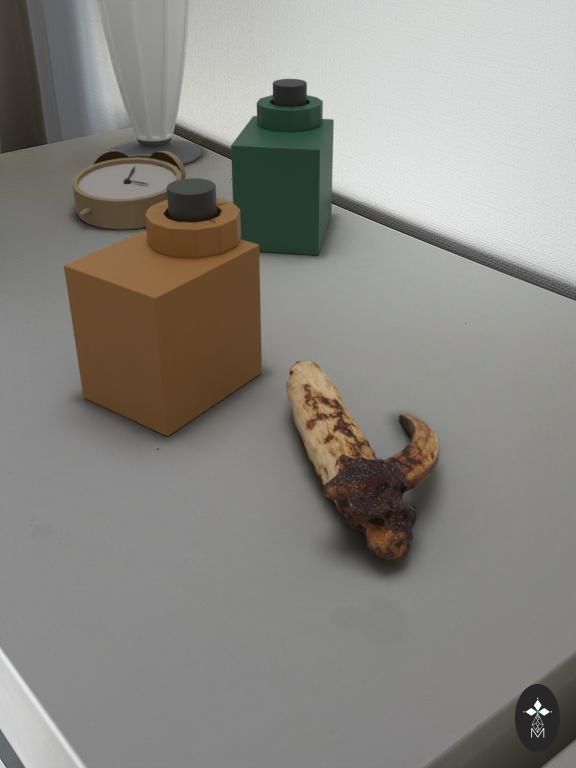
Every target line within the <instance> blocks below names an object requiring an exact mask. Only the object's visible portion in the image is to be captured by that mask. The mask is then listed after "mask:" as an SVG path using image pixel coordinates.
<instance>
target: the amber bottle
mask: <svg viewBox="0 0 576 768" xmlns="http://www.w3.org/2000/svg"><path fill="white" fill-rule="evenodd" d="M216 200H217V217H216V218H214V219H211V220H208V221H202V222H195V223H193V222H177V221H174V220H170V219H169V213H168V200H165V201H162V202H160V203H158V204H155V205H153V206H151V207H150V208H149V210H148V211H147V212H146V214H145V221H146V227H145V230H141V231H140V232H138V233H136V234H133V235H131V236H129V237H127V238H124V239H121V240H120V241H116V242H114V243H112V244H110V245H108V246H105V247H103V248H101V249H98V250H96V251H94V252H92V253H89V254H87V255H84V256H82V257H80V258H78V259H75V260H73V261H71V262H68V263H66V264H64V265H63V270H64V276H65V284H66V290H67V296H68V302H69V310H70V317H71V324H72V330H73V331H72V332H73V337H74V343H75V349H76V357H77V363H78V370H79V377H80V384H81V390H82V397H83V399H86V400H88V401H90V402H93V403H94V404H96V405H98V406H101V407H102V408H105V409H107V410H109V411H112V412H114V413H116V414H118V415H121V416H123V417H124V418H126V419H129V420H131V421H133V422H136V424H140V425H141V426H143V427H146V428H148V429H151V431H155V432H157V433H158V434H160V435H163V436H165V437H169V436H171V435H172V434H174V433H175V432H177V431H178V430H181V428H183V427H184V426H185V425H187V424H189V423H190V422H191V421H193V420H194V419H196V418H197V417H198V416H200V415H202V414H203V413H205V412H206V411H208V410H209V409H211V408H212V407H214V406H215V405H217V404H218V403H219V402H221V401H222V400H224V399H225V398H227V397H229V396H230V395H231V394H233V393H234V392H236V391H237V390H239V389H240V388H241V387H243V386H244V385H246V384H248V383H249V382H250V381H252V380H253V379H255V378H257V377H258V376H260V375H261V374H262V373H263V359H262V357H263V356H262V316H261V315H262V314H261V313H262V311H261V268H260V267H261V263H260V251H259V245H258V244H255V243H252V242H248V241H245V240H241V239H240V238H241V218H240V209H239V208H238V207H237V206H236V205H235V204H234V203H233V201H231V200H228V199H224V198H219V197H216Z"/></svg>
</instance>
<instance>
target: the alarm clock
mask: <svg viewBox="0 0 576 768" xmlns="http://www.w3.org/2000/svg"><path fill="white" fill-rule="evenodd" d="M186 175H187V173H186V168H185V166H184V165H183V163H182V162H181V160H180V159H179V158H178V157H177V156H176V155H175V154H173V153H171V152H168V151H158V152H156V153H153V154H152V155H150V154H138V155H130V156H127V155H126V154H124V153H123V152H120V151H117V150H114V149H109V150H105V151H103V152H101V153H100V154H98V155H96V157H95V159H94V160H93V163H92V164H91V165H89V166H87V167H85V168H83V169H82V170H80V171H78V172H77V173H76V174H75V175H74V176H73V178H72V181H71V187H72V191H73V196H74V202H75V203H74V204H75V212H76V214H77V216H78V217H79V219H80V220H82V221H83V222H85V223H86V224H88V225H91V226H94V227H98V228H102V229H108V230H109V229H110V230H111V229H112V230H136V229H142V228H146V221H145V214H146V212H147V211H148V210H149V208H150V207H151V206H153V205H155V204H158V203H160V202H162V201H165V200H167V185H168V184H169V183H171V182H173V181H176V180H181V179H186Z"/></svg>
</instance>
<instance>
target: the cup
mask: <svg viewBox="0 0 576 768" xmlns="http://www.w3.org/2000/svg"><path fill="white" fill-rule="evenodd" d="M96 2H97V7H98V11H99V16H100V21H101V27H102V30H103V35H104V38H105V42H106V45H107V50H108V54H109V58H110V61H111V65H112V70H113V73H114V77H115V79H116V83H117V87H118V89H119V93H120V97H121V99H122V103H123V106H124V109H125V111H126V114H127V117H128V120H129V123H130V125H131V127H132V130H133V133H134V138H135V140H136V141H133V142H129V143H128V142H127V143H125V144H121V145H119V146H117V147H115V148H114V149H113V150H117V151H120V152H123V153H124V154H126V155H127V156H130V155H138V154H150V155H152V154H153V153H156V152H158V151H168V152H171V153H173V154H175V155H176V156H177V157H178V158H179V159H180V160H181V162H182V163H183V166H184V165H187V164H190V163H193V162H195V161H196V160H198V159H199V158H201V156H202V149H201V148H200V147H198V146H197V145H196V144H193V143H190V142H187V141H183V140H174V139H173V137H174V131H175V127H176V123H177V118H178V113H179V109H180V102H181V96H182V95H181V94H182V88H183V80H184V74H185V63H186V54H187V42H188V33H189V32H188V31H189V16H190V15H189V14H190V13H189V12H190V0H96Z"/></svg>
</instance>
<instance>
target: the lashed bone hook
mask: <svg viewBox="0 0 576 768" xmlns="http://www.w3.org/2000/svg"><path fill="white" fill-rule="evenodd" d="M288 373H289V376H288V378H287V381H286V383H285V390H286V394H287V395H286V397H287V400H288V403H289V406H290V407H291V410H292V412H293V421H294V425H295V427H296V429H297V430H298V432H299V434H300V436H301V438H302V441H303V444H304V447H305V451H306V452H307V455H308V456H307V457H308V459H309V461H310V462H311V463H312V465H313V467H314V469H315V472H316V475H317V476H318V477H319V478H320V480H321V483H322V485H323V492H322V493H323V496H324V497H325V498H327V499H331V500H333V502H334V503H335V505H336V509H337V511H338V513H340V515H341V516H342V517H343V518H344V520H345V521H346V522H347V523H348V524H349V526H350V527H351V528H352V529H353V530H354V531H356V532H361V533H362V534H363V535H365V537H366V542H367V544H366V548H367V549H369V550H370V551H372V552H373V553H375V554H376V555H377V556H378V557H379V558H381V559H383V560H395V559H399V558H402V557H405V556H408V554H409V552H410V548H411V544H410V542H411V541H412V540H413V538H414V535H413V528H414V526H415V523H416V521H417V509H418V507H417V506H410V504H408V503H406V502H405V501H404V494H405V493H406V492H408V491H411V490H413V489H415V488H416V487H418V486H419V485H420V484H421V483H423V482H424V481H426V480H427V479H428V477H429V476H430V475H431V474H432V473H433V471H434V470H435V468H436V466H437V464H438V462H439V457H440V451H441V450H440V449H441V448H440V447H441V446H440V442H439V438H438V435H437V433H436V431H435V430H434V429H433V428H432V427H431V426H429V425H428V424H427V423H425V422H424V421H423V420H421V419H419V418H417V417H415V416H412V415H410V414H406V413H401V414H399V415H398V420H399V422H400V423H401V425H402V427H403V428H404V429H405V431H406V432H407V433H408V434H409V435H410V437H411V440H410V441H411V442H410V444H406V446H405V447H404V448H403V449H401V450H400V451H399V452H396V453H395V454H394V455H392V456H390V457H387V458H386V459H382V458H378V457H377V456H376V454H375V452H374V449H373V448H372V447H371V445H370V442H369V440H368V439H367V438H366V436H365V434H364V433H363V432H362V429H361V428H360V426H359V425H358V423H357V422H356V420H355V418H354V417H353V415H352V414H351V412H350V411H349V409H348V408H347V407H346V405H345V403H344V401H343V398H342V396H341V394H340V392H339V391H338V389H337V388H336V386H335V384H334V383H333V382H332V381H331V380H330V378H329V376H328V374H327V373H326V372H325V371H323V370H322V369H321V368H320V365H318V364H317V363H316V362H313V361H312V360H298V361H295V363H294V364H292V365H291V366H290V368H289V370H288Z"/></svg>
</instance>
